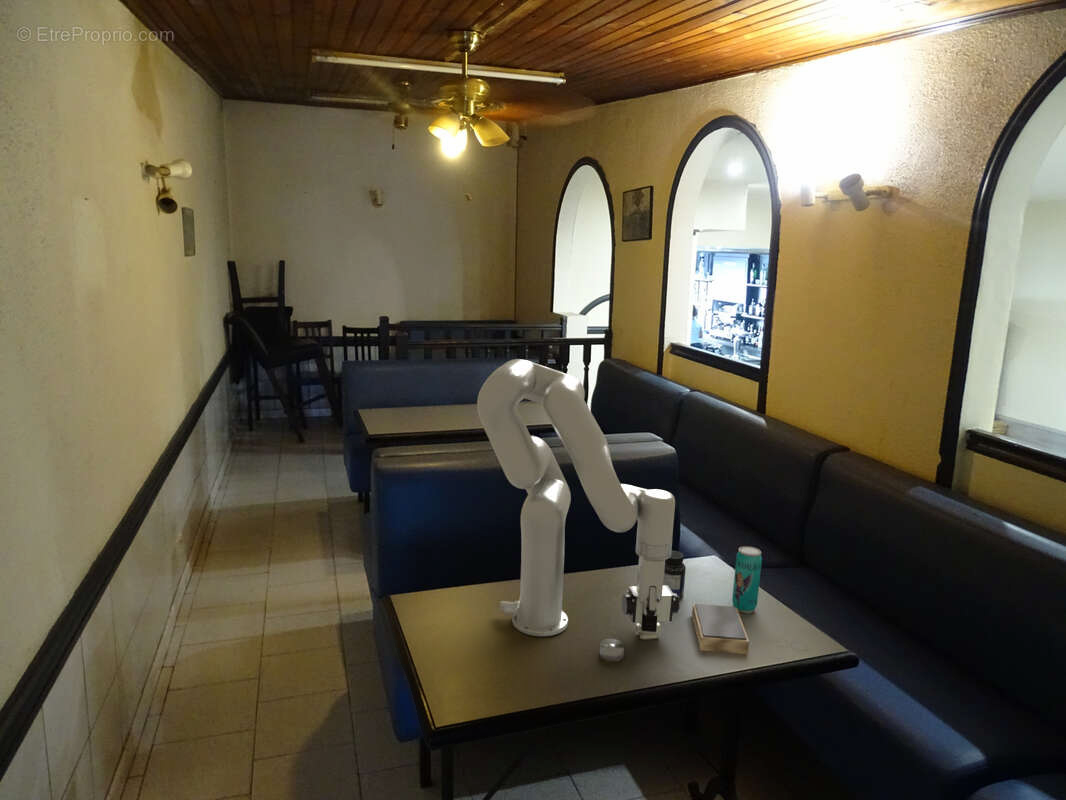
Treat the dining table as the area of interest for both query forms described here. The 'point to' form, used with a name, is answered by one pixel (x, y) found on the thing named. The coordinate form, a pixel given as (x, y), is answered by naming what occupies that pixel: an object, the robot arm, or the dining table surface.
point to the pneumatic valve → (636, 608)
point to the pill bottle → (675, 573)
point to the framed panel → (719, 629)
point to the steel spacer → (611, 649)
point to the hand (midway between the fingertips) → (647, 623)
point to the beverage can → (747, 579)
